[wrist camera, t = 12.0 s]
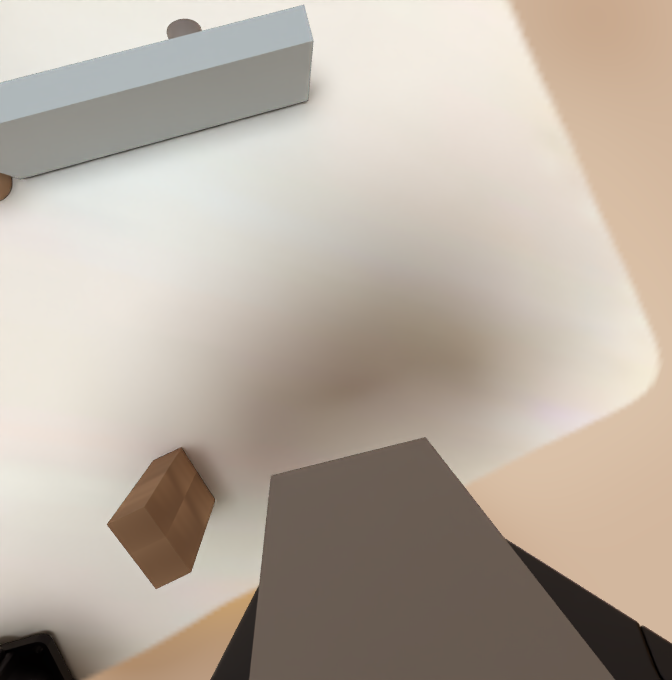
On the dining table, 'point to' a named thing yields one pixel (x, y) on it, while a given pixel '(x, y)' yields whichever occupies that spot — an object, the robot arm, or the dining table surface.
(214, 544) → the dining table surface
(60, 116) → the door
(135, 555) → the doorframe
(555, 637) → the block
